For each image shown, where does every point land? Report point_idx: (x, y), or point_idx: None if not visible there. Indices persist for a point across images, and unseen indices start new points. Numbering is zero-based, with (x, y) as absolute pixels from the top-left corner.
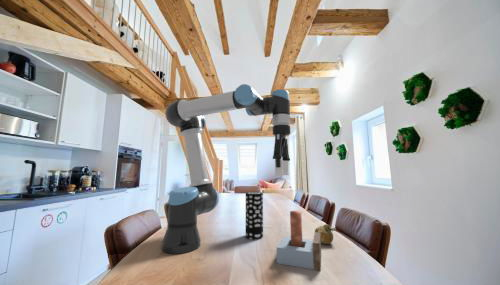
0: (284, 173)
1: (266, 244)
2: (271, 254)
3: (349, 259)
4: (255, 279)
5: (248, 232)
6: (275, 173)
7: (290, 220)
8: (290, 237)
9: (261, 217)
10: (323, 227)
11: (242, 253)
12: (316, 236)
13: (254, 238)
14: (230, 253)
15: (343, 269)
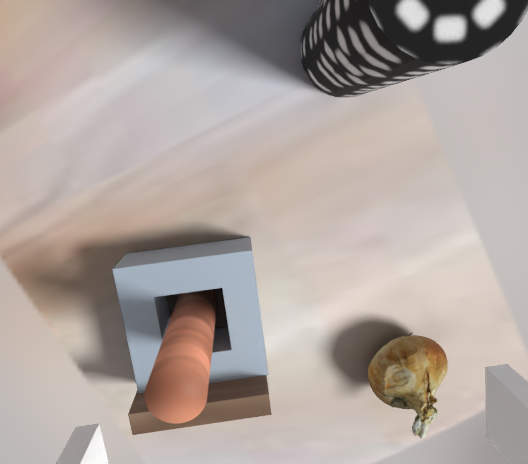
0: (499, 407)
1: (274, 150)
2: (185, 210)
3: (276, 443)
4: None
5: (306, 29)
6: (63, 453)
7: (165, 350)
8: (253, 281)
9: (365, 86)
10: (412, 392)
11: (133, 100)
12: (209, 411)
13: (306, 70)
14: (106, 52)
15: (194, 434)
